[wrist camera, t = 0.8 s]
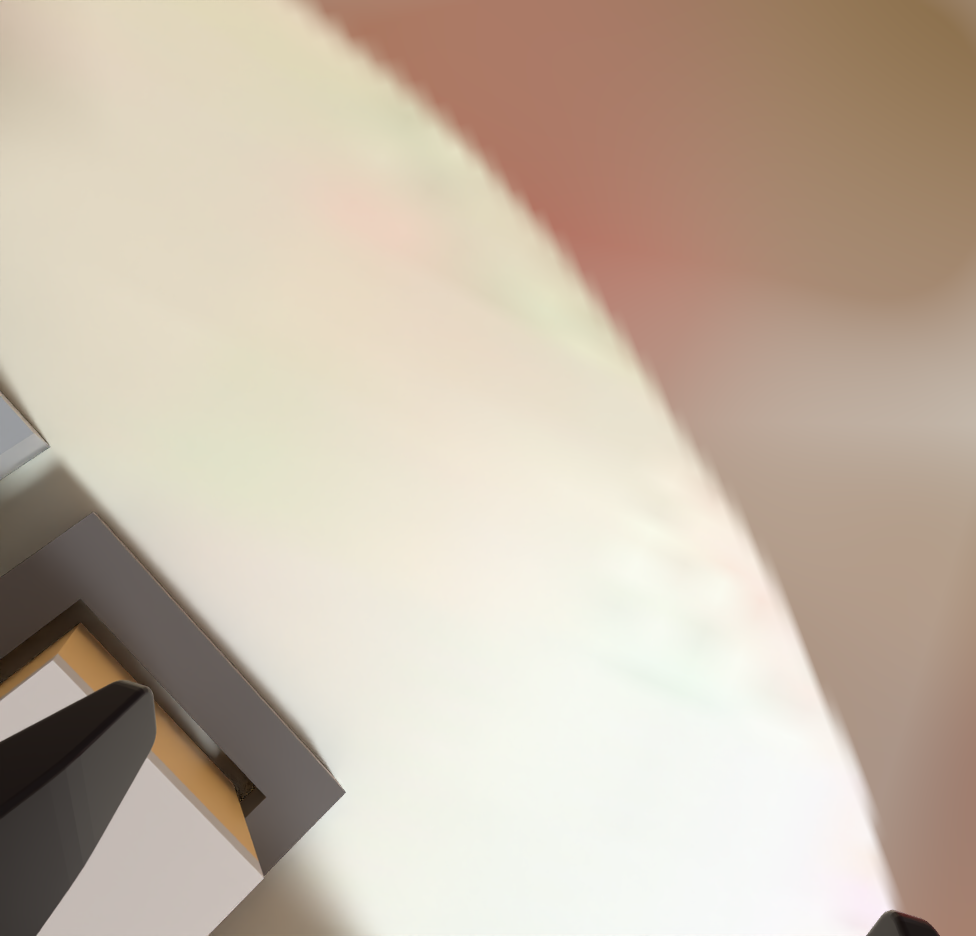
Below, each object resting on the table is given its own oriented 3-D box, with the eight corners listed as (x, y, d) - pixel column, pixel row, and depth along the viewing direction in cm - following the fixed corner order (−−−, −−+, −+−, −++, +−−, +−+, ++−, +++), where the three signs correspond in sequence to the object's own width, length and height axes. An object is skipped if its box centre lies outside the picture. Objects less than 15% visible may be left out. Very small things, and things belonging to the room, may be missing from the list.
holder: (105, 1009, 18) (103, 1039, 17) (-205, 727, 16) (-230, 741, 15) (335, 778, 21) (345, 792, 20) (95, 513, 19) (92, 512, 18)
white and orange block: (121, 889, 19) (109, 1035, 13) (-51, 723, 18) (-141, 810, 12) (233, 783, 20) (264, 877, 15) (80, 622, 19) (52, 660, 13)
